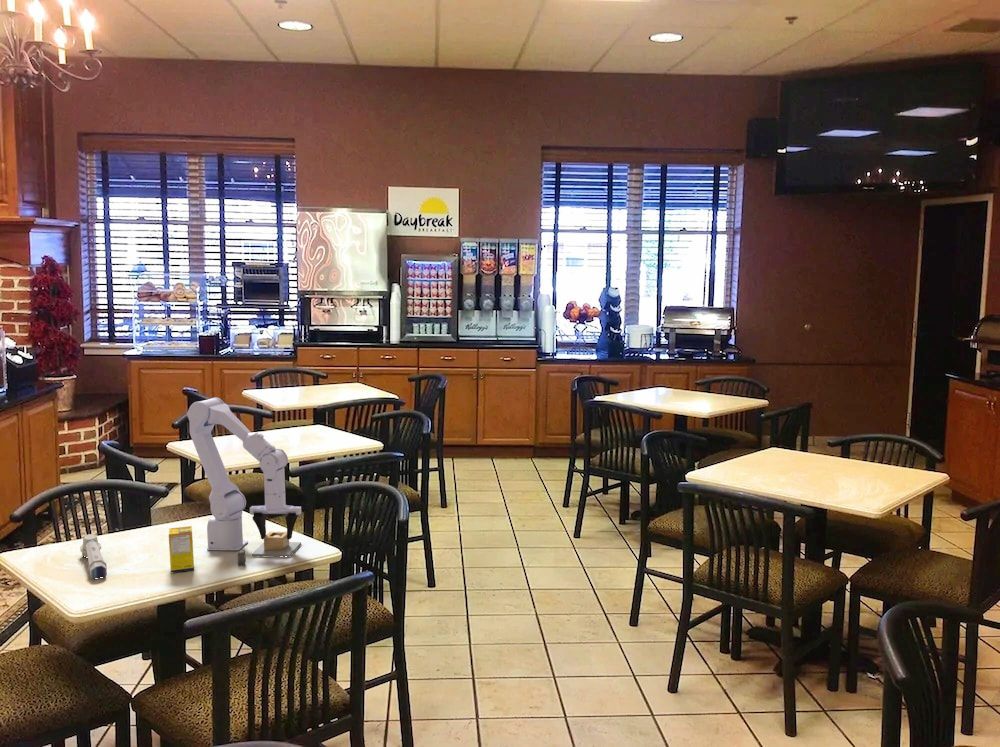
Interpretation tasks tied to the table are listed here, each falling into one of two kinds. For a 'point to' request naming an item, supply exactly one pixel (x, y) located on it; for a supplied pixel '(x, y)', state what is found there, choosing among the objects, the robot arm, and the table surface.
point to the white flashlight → (93, 556)
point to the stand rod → (241, 558)
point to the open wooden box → (276, 541)
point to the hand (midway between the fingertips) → (276, 538)
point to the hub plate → (286, 552)
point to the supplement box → (181, 549)
